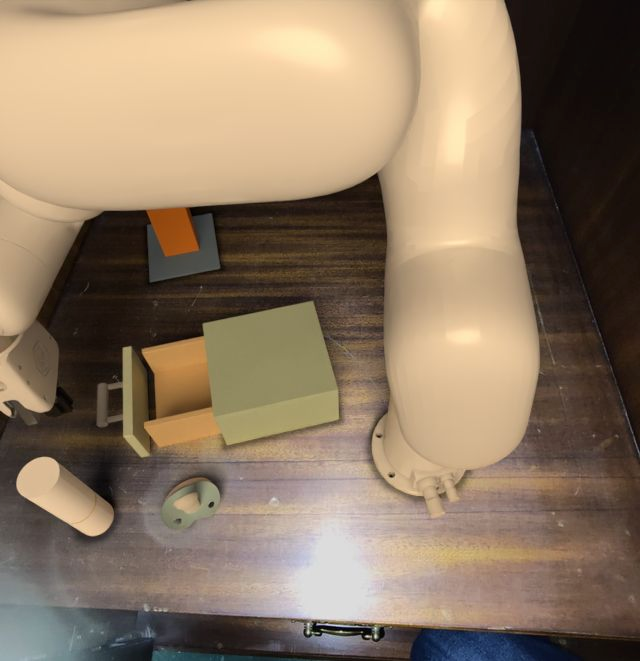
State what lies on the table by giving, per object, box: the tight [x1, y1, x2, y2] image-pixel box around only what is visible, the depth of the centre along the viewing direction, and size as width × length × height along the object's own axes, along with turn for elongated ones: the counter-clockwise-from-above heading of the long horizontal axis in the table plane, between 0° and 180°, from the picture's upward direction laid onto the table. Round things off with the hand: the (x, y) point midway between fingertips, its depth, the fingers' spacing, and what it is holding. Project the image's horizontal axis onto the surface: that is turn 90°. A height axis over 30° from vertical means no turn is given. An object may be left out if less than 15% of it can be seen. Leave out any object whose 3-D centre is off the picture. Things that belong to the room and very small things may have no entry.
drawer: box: [96, 335, 222, 459], centre depth 70 cm, size 19×13×7 cm
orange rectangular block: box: [145, 207, 199, 257], centre depth 87 cm, size 4×6×12 cm
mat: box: [146, 212, 221, 283], centre depth 92 cm, size 14×12×1 cm
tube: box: [15, 456, 115, 537], centre depth 59 cm, size 4×4×15 cm
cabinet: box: [202, 300, 340, 446], centre depth 71 cm, size 16×15×9 cm
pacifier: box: [160, 477, 221, 531], centre depth 63 cm, size 7×6×6 cm
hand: (61, 409), depth 67 cm, fingers closed
